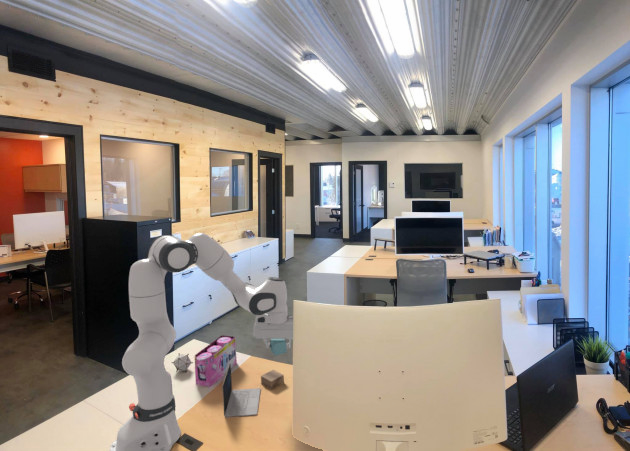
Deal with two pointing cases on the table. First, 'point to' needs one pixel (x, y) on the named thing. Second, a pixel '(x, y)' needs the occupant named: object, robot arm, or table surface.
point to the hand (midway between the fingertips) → (278, 347)
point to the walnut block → (272, 379)
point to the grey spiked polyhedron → (182, 362)
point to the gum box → (215, 360)
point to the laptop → (239, 399)
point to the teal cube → (278, 346)
